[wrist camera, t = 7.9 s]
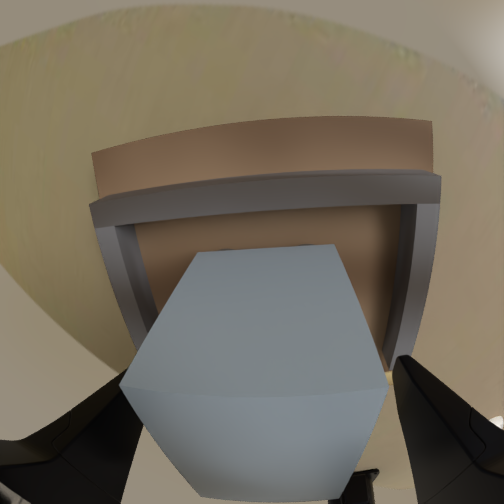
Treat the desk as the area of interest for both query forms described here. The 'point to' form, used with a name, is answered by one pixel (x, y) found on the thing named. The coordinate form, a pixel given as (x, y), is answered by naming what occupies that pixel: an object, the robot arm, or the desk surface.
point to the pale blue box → (261, 375)
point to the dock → (276, 210)
